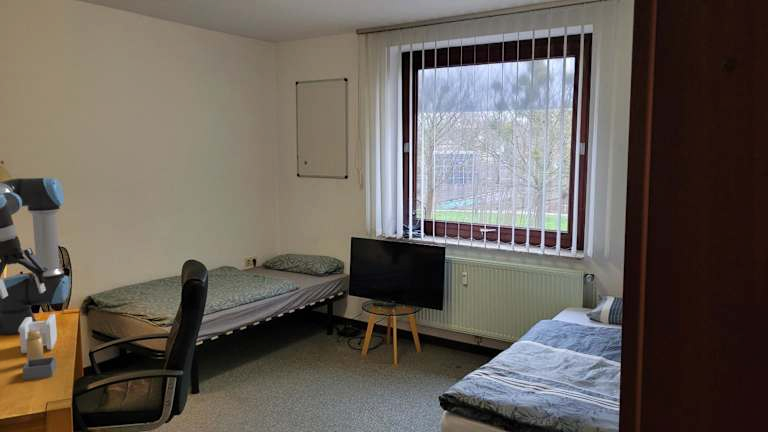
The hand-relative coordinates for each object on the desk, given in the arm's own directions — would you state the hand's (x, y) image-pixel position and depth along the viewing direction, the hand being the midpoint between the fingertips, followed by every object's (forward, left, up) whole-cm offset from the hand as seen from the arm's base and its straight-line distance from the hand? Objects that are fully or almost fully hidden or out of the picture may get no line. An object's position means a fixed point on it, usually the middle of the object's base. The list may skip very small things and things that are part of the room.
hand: (24, 294), depth 204 cm
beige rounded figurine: (0, +2, -25) cm, 26 cm away
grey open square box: (+12, +5, -25) cm, 29 cm away
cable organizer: (-17, 0, -26) cm, 31 cm away
